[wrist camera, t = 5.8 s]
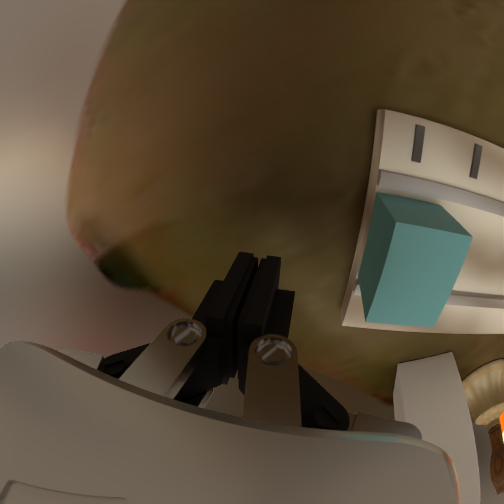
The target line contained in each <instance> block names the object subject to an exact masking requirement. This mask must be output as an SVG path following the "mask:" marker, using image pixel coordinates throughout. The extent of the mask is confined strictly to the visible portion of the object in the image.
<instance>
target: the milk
mask: <svg viewBox="0 0 504 504" xmlns="http://www.w3.org/2000/svg"><path fill="white" fill-rule="evenodd" d="M393 400H394V411H395V420H396V421H401V422H407V423H410V424H413V425H415V426H416V427H417V428H418V429H419V430H420V432H421V434H422V440H424V441H427V442H429V443H432V444H434V445H436V446H438V447H440V448H441V449H443V450H444V451H445V452H446V453H447V454H448V455H449V456H450V458H451V460H452V462H453V464H454V467H455V470H456V474H457V479H458V484H459V493H460V504H481V501H480V479H479V468H478V459H477V452H476V445H475V438H474V433H473V427H472V422H471V417H470V413H469V408H468V404H467V400H466V396H465V392H464V389H463V385H462V382H461V378H460V375H459V371H458V368H457V365H456V362H455V359H454V356H453V353H452V352H448V353H444V354H440V355H436V356H432V357H428V358H423V359H419V360H414V361H409V362H404V363H399V364H398V365H397V372H396V379H395V386H394V392H393Z"/></svg>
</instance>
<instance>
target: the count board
mask: <svg viewBox="0 0 504 504" xmlns="http://www.w3.org/2000/svg"><path fill="white" fill-rule="evenodd" d="M376 192H378V193H384V194H389V195H395V196H400V197H405V198H410V199H415V200H420V201H424V202H429V203H433V204H438V205H441V206H442V207H443V208H444V209H445V210H446V211H447V212H448V213H450V214H451V215H452V216H453V217H454V218H455V219H456V220H457V221H458V222H459V223H460V224H461V225H462V226H463V227H464V228H465V229H466V230H467V231H468V232H469V233H470V234H471V236H472V237H473V238H472V241H471V244H470V247H469V250H468V252H467V255H466V258H465V260H464V263H463V266H462V268H461V271H460V273H459V275H458V278H457V280H456V282H455V285H454V287H453V289H452V291H451V294H450V296H449V298H448V300H447V302H446V304H445V306H444V308H443V310H442V312H441V314H440V316H439V318H438V320H437V322H436V324H435V326H434V327H420V326H405V325H392V324H381V323H370V322H365V317H364V310H363V303H362V297H361V291H360V285H359V280H358V274H359V270H360V266H361V262H362V258H363V254H364V250H365V246H366V242H367V237H368V233H369V228H370V224H371V219H372V214H373V209H374V203H375V198H376ZM341 315H342V326H352V327H361V328H372V329H384V330H397V331H411V332H430V333H456V334H504V149H503V148H501V147H499V146H497V145H494V144H492V143H490V142H488V141H485V140H483V139H480V138H478V137H475V136H473V135H470V134H468V133H465V132H462V131H460V130H457V129H454V128H451V127H448V126H445V125H442V124H439V123H436V122H432V121H429V120H426V119H422V118H419V117H415V116H411V115H407V114H403V113H399V112H395V111H391V110H386V109H378V110H377V116H376V128H375V138H374V147H373V155H372V163H371V170H370V177H369V183H368V190H367V196H366V201H365V207H364V212H363V218H362V223H361V228H360V233H359V237H358V242H357V247H356V251H355V255H354V260H353V264H352V268H351V272H350V276H349V280H348V284H347V288H346V291H345V295H344V299H343V302H342V306H341Z"/></svg>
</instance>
